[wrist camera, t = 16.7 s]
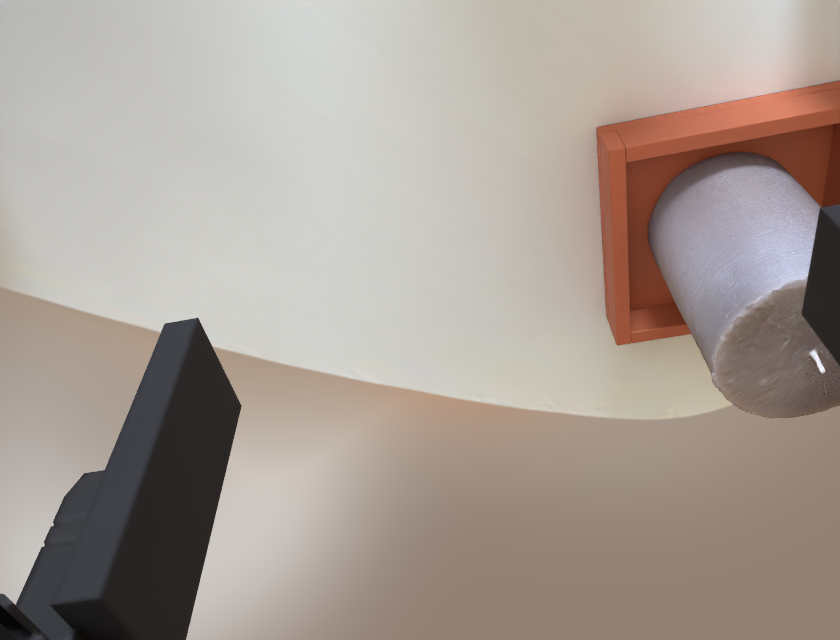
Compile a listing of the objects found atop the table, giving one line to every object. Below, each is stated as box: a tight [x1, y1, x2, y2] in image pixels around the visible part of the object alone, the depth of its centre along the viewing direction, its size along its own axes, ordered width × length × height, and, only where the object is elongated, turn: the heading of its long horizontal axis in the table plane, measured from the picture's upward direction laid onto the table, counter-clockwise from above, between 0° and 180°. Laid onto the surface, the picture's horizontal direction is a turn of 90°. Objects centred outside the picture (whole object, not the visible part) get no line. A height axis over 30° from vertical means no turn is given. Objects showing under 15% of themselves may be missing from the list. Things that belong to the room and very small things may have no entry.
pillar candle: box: [648, 152, 840, 418], centre depth 41 cm, size 10×10×15 cm
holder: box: [596, 81, 840, 345], centre depth 46 cm, size 15×15×4 cm
